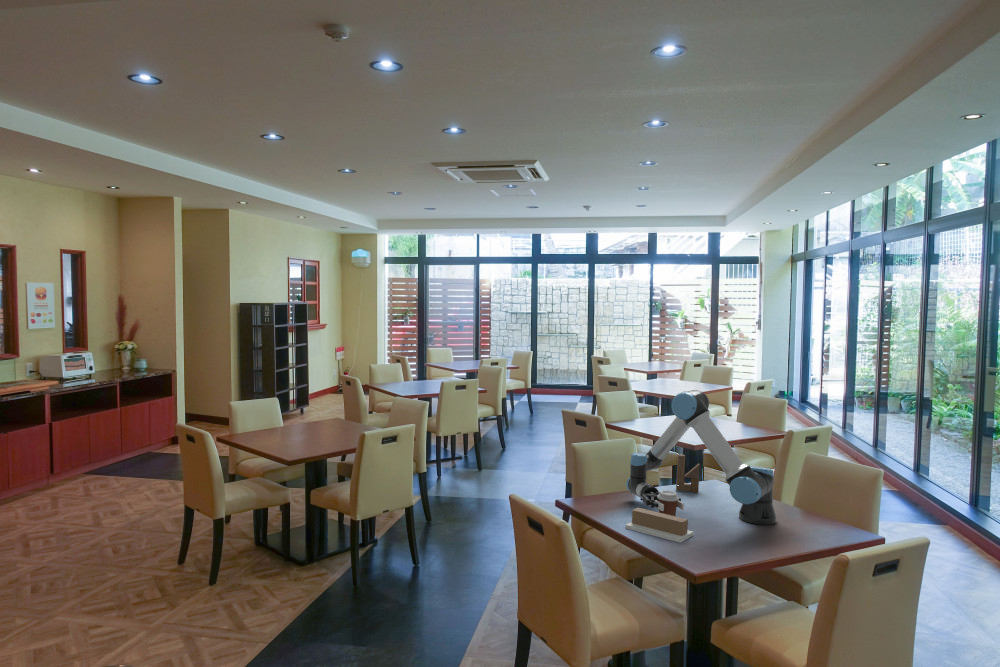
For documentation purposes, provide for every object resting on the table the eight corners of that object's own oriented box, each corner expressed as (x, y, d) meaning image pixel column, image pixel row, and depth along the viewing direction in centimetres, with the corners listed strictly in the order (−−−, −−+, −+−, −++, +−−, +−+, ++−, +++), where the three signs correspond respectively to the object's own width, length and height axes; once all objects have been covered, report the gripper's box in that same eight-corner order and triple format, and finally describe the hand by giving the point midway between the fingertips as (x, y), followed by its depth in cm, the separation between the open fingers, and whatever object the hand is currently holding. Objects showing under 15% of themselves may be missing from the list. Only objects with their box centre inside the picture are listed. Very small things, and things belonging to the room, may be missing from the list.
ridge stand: (693, 535, 260) (693, 518, 260) (680, 542, 251) (681, 524, 251) (639, 521, 276) (639, 505, 276) (625, 528, 267) (625, 511, 266)
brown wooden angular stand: (698, 492, 324) (699, 457, 324) (676, 490, 327) (677, 455, 326) (698, 491, 328) (699, 455, 327) (676, 489, 330) (677, 454, 330)
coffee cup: (651, 518, 280) (652, 491, 280) (668, 516, 285) (669, 488, 284) (666, 524, 272) (667, 496, 272) (682, 522, 276) (683, 494, 276)
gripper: (668, 499, 298) (695, 514, 277) (625, 502, 293) (649, 517, 271) (669, 483, 298) (696, 497, 276) (626, 485, 293) (650, 499, 271)
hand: (673, 507), depth 274 cm, fingers closed on coffee cup, 9 cm apart
